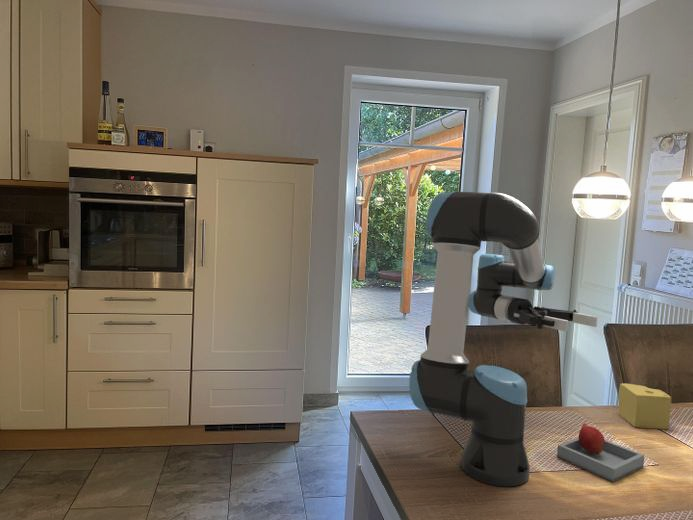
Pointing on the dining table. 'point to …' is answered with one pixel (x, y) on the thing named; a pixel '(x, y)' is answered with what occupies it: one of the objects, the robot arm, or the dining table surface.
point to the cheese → (644, 406)
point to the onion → (591, 439)
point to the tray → (602, 459)
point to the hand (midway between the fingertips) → (582, 324)
